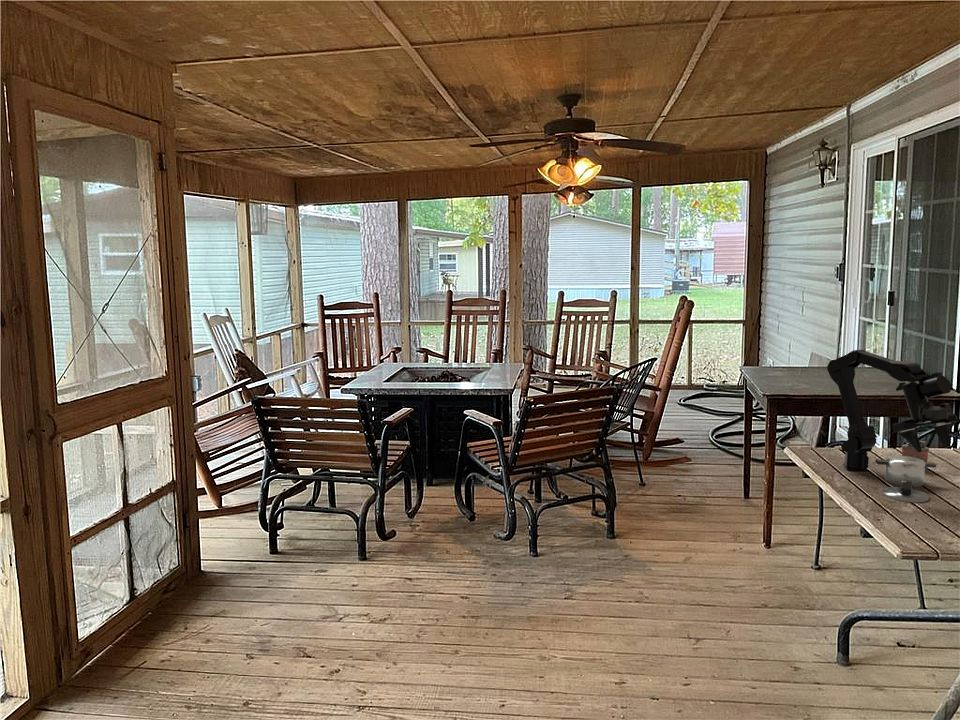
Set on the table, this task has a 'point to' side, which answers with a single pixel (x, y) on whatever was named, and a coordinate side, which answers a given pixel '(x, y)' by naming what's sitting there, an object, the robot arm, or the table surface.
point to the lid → (905, 493)
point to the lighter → (915, 451)
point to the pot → (905, 469)
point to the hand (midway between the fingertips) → (933, 449)
